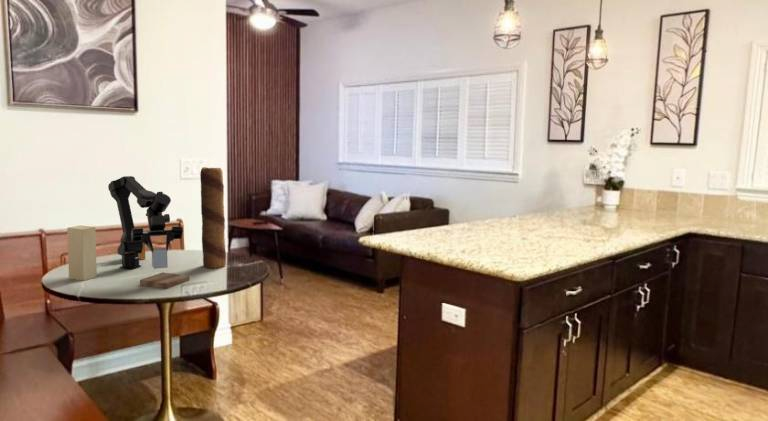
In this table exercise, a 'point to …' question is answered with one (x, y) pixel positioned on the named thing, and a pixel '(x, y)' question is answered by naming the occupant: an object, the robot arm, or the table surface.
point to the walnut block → (164, 280)
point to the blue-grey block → (159, 258)
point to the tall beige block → (82, 252)
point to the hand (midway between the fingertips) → (160, 251)
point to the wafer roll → (213, 217)
